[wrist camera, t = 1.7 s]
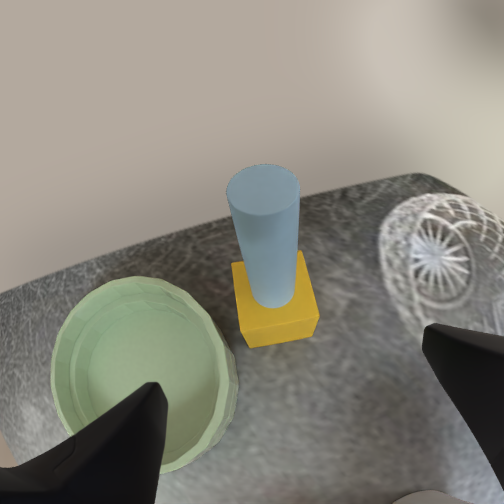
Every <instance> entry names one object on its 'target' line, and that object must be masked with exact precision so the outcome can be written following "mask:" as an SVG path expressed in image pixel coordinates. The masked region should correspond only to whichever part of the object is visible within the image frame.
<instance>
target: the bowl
mask: <svg viewBox="0 0 504 504" xmlns="http://www.w3.org/2000/svg"><path fill="white" fill-rule="evenodd" d="M51 358H52V359H51V390H52V394H53V398H54V402H55V406H56V410H57V413H58V415H59V417H60V419H61V421H62V423H63V425H64V427H65V428H66V430H67V432H68V434H69V435H70V437H71V436H72V435H75V434H76V433H77V432H78V431H80V430H81V429H83V428H84V427H85V426H87V425H88V424H90V423H91V422H93V421H94V420H95V419H97V418H98V417H100V416H101V415H102V414H104V413H105V412H107V411H108V410H109V409H111V408H112V407H114V406H115V405H116V404H118V403H119V402H120V401H122V400H123V399H124V398H126V397H127V396H129V395H130V394H131V393H133V392H134V391H135V390H137V389H138V388H139V387H141V386H142V385H143V384H145V383H146V382H158V383H159V384H160V385H161V387H162V389H163V391H164V394H165V396H166V398H167V400H168V416H167V429H166V441H165V448H164V453H163V458H162V463H161V469H160V474H163V473H167V472H171V471H174V470H178V469H180V468H182V467H184V466H186V465H188V464H190V463H192V462H194V461H196V460H198V459H199V458H200V457H201V456H203V455H204V454H205V453H207V452H208V451H209V450H210V449H211V448H213V447H214V446H215V445H216V444H218V443H219V442H220V440H221V438H222V437H223V435H224V433H225V431H226V430H227V428H228V426H229V424H230V423H231V421H232V419H233V417H234V413H235V408H236V402H237V396H238V390H239V383H238V376H237V370H236V364H235V358H234V355H233V353H232V351H231V349H230V347H229V345H228V343H227V341H226V339H225V337H224V335H223V333H222V331H221V330H220V328H219V327H218V326H217V324H216V323H215V322H214V320H213V319H212V318H211V316H210V315H209V314H208V313H207V312H206V311H205V310H204V309H203V308H202V307H201V306H200V305H199V304H198V303H197V301H196V300H195V299H194V298H193V297H192V296H191V295H190V294H189V293H188V292H186V291H184V290H182V289H180V288H178V287H176V286H174V285H172V284H170V283H168V282H166V281H165V280H162V279H157V278H149V277H142V276H132V277H127V278H122V279H117V280H112V281H110V282H108V283H106V284H104V285H102V286H100V287H99V288H97V289H95V290H93V291H91V292H90V293H88V294H87V295H86V296H85V297H84V298H83V299H82V300H81V301H80V302H79V303H78V304H77V305H76V306H75V307H74V308H73V309H72V310H71V312H70V313H69V315H68V317H67V318H66V320H65V322H64V324H63V325H62V327H61V329H60V331H59V333H58V335H57V339H56V342H55V346H54V350H53V353H52V357H51Z"/></svg>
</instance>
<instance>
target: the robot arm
mask: <svg viewBox="0 0 504 504" xmlns="http://www.w3.org/2000/svg"><path fill="white" fill-rule="evenodd" d="M422 351H423V353H424V355H425V357H426V359H427V360H428V362H429V364H430V366H431V368H432V369H433V371H434V373H435V375H436V377H437V379H438V380H439V382H440V384H441V385H442V387H443V388H444V390H445V391H446V393H447V394H448V396H449V397H450V399H451V400H452V402H453V403H454V405H455V406H456V408H457V409H458V411H459V412H460V414H461V415H462V417H463V419H464V420H465V422H466V423H467V425H468V427H469V428H470V430H471V432H472V433H473V435H474V436H475V438H476V440H477V442H478V443H479V445H480V447H481V448H482V450H483V452H484V454H485V455H486V457H487V459H488V461H489V463H490V464H491V467H492V469H493V470H494V472H495V474H496V476H497V478H498V480H499V482H500V484H501V486H502V488H503V490H504V336H499V335H493V334H488V333H483V332H477V331H472V330H467V329H462V328H457V327H452V326H447V325H442V324H438V323H433V324H431V325H428V326H426V327H425V329H424V335H423V342H422ZM167 416H168V400H167V398H166V396H165V394H164V391H163V389H162V387H161V385H160V384H159V383H158V382H146V383H145V384H143V385H142V386H141V387H139V388H138V389H137V390H135V391H134V392H133V393H131V394H130V395H129V396H127V397H126V398H124V399H123V400H122V401H120V402H119V403H118V404H116V405H115V406H114V407H112V408H111V409H109V410H108V411H107V412H105V413H104V414H102V415H101V416H100V417H98V418H97V419H95V420H94V421H93V422H91V423H90V424H88V425H87V426H85V427H84V428H83V429H81V430H80V431H78V432H77V433H76V434H75V435H72V436H71V437H69V438H68V439H67V440H65V441H63V442H62V443H60V444H59V445H57V446H56V447H54V448H52V449H50V450H48V451H47V452H45V453H43V454H41V455H39V456H37V457H35V458H33V459H31V460H29V461H27V462H25V463H23V464H21V465H19V466H16V467H12V468H1V467H0V504H154V503H155V497H156V491H157V486H158V480H159V474H160V469H161V463H162V458H163V453H164V448H165V441H166V429H167Z"/></svg>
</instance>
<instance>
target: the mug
mask: <svg viewBox="0 0 504 504" xmlns="http://www.w3.org/2000/svg"><path fill="white" fill-rule="evenodd" d="M392 504H473V503H470V502H466V501H463V500H460V499H457V498H455V497H452V496H450V495H448V494H445V493H442V492H440V491H435V490H424V491H419V492H415V493H412V494H409V495H407V496H404V497H402V498H400V499H399V500H397V501H395V502H393V503H392Z"/></svg>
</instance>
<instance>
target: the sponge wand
mask: <svg viewBox="0 0 504 504" xmlns="http://www.w3.org/2000/svg"><path fill="white" fill-rule="evenodd" d="M226 192H227V193H226V194H227V199H228V203H229V206H230V210H231V215H232V218H233V222H234V226H235V230H236V234H237V238H238V242H239V245H240V249H241V253H242V257H243V261H240V262H235V263H231V265H232V273H233V281H234V288H235V296H236V303H237V311H238V318H239V325H240V331H241V333H242V335H243V337H244V339H245V340H246V342H247V344H248V346H249V348H255V347H261V346H267V345H272V344H278V343H283V342H288V341H293V340H298V339H302V338H307V337H311V336H312V335H313V332H314V330H315V327H316V324H317V322H318V319H319V316H320V315H319V311H318V308H317V304H316V300H315V296H314V293H313V289H312V285H311V282H310V278H309V275H308V271H307V268H306V264H305V261H304V257H303V254H302V251H301V250H299V251H297V248H298V228H299V205H300V185H299V182H298V180H297V178H296V177H295V175H294V174H293V173H292V172H290V171H289V170H287V169H285V168H283V167H280V166H277V165H271V164H260V165H254V166H251V167H248V168H245V169H243V170H241V171H240V172H238V173H237V174H236V175H235V176H233V178H232V179H231V180H230V182H229V184H228V186H227V191H226Z"/></svg>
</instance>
